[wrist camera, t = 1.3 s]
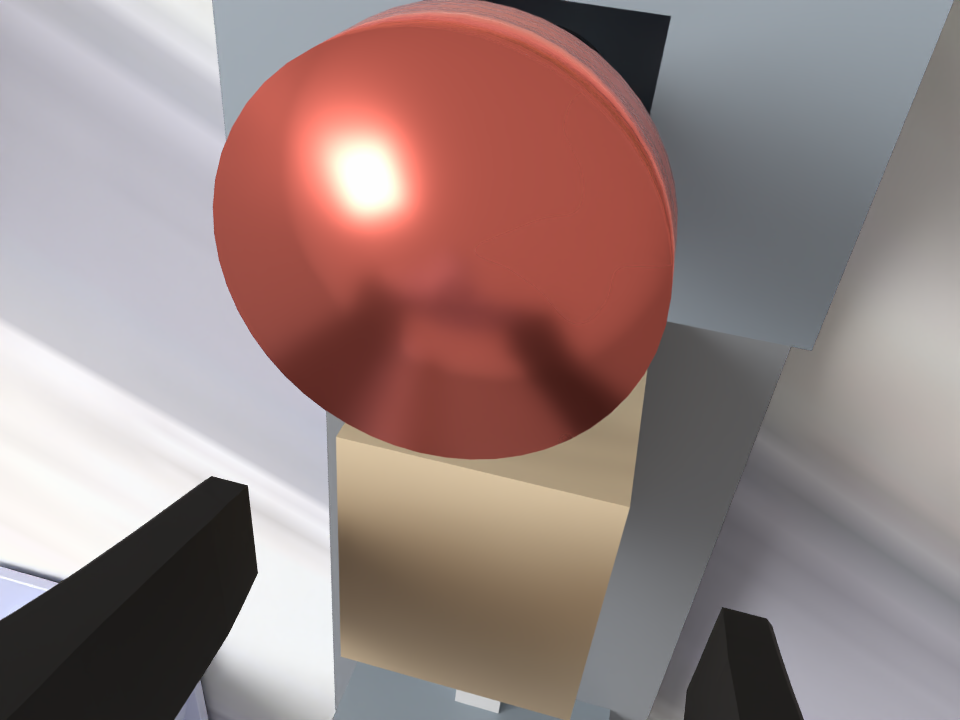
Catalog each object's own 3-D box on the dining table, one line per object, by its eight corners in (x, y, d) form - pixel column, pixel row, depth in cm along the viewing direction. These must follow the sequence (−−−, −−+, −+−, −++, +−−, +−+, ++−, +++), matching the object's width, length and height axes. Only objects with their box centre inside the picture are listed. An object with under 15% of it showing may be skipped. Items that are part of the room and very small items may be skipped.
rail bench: (622, 755, 24) (597, 1003, 19) (349, 676, 26) (258, 889, 21) (936, -92, 11) (1124, -23, 6) (340, -163, 12) (77, -156, 7)
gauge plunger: (652, 269, 9) (618, 500, 6) (391, 219, 10) (234, 409, 6) (726, -32, 7) (733, 74, 4) (399, -76, 8) (186, -10, 5)
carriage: (603, 509, 17) (569, 721, 13) (427, 466, 18) (340, 656, 14) (654, 313, 14) (630, 507, 10) (440, 269, 15) (335, 436, 11)
